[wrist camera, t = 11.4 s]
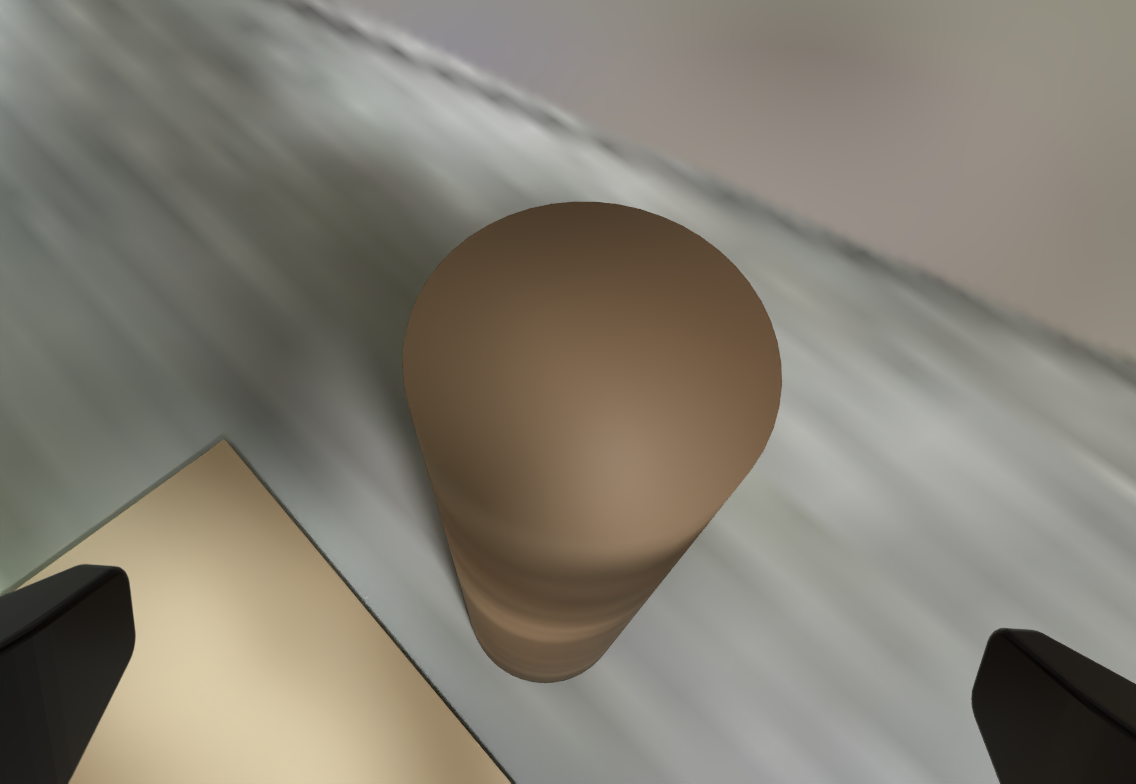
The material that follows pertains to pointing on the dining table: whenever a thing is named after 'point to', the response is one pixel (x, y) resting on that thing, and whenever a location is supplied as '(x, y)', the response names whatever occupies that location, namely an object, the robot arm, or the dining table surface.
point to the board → (255, 654)
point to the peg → (582, 417)
